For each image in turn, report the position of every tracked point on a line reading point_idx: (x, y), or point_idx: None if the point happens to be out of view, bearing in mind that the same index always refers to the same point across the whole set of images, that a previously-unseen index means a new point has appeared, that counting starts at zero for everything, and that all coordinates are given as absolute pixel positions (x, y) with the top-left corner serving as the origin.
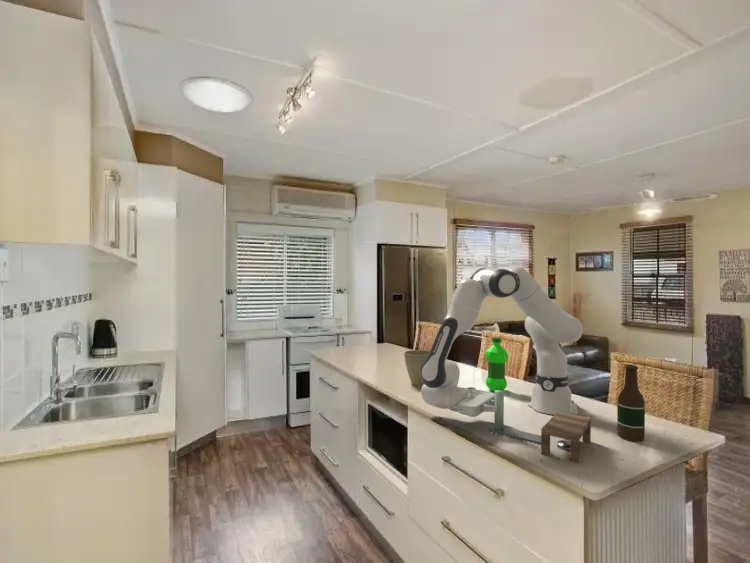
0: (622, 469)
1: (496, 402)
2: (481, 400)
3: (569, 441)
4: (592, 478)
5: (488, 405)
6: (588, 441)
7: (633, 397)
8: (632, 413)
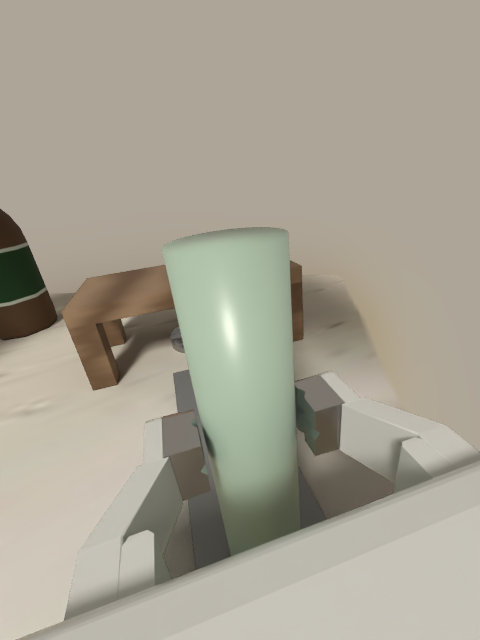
0: None
1: (293, 358)
2: (477, 563)
3: (172, 335)
4: (302, 285)
5: (392, 421)
6: (124, 333)
7: (10, 217)
8: (31, 257)
